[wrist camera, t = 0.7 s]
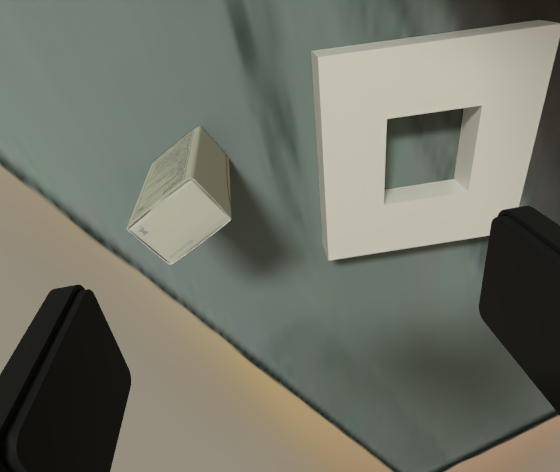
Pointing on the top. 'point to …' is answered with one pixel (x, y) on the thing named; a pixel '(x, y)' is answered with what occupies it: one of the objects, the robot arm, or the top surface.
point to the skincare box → (183, 197)
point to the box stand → (420, 100)
